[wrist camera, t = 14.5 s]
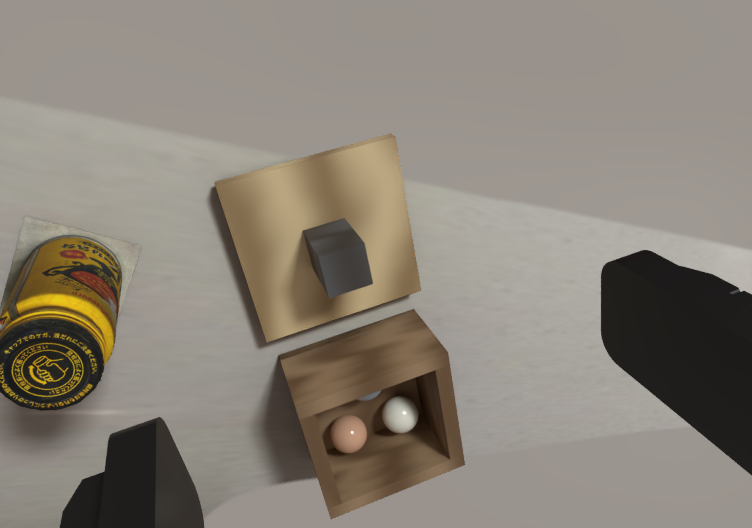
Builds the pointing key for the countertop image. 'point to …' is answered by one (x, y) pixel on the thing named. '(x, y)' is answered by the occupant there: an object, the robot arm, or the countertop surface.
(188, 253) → the countertop surface
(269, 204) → the lid
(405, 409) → the ball cream
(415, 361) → the box
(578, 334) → the countertop surface
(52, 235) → the condiment
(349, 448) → the ball terracotta
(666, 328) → the robot arm
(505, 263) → the countertop surface
